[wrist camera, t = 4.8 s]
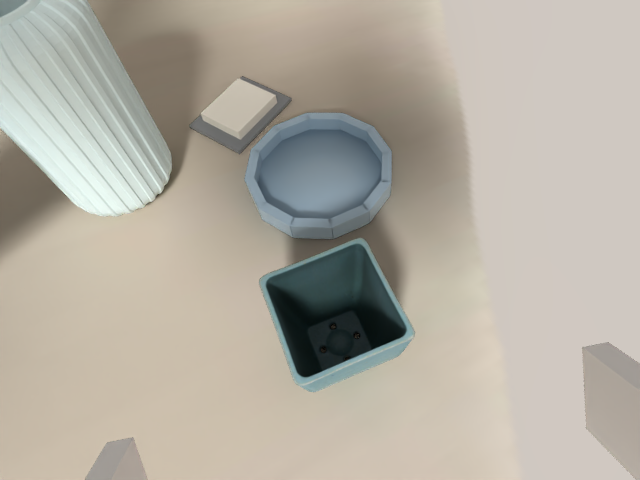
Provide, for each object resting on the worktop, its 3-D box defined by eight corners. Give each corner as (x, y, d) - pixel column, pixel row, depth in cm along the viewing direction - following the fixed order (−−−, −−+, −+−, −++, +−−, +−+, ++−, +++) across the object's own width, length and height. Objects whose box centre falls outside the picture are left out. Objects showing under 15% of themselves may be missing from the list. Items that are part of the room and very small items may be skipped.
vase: (198, 158, 52) (101, -42, 33) (144, 240, 47) (-8, 59, 28) (117, 136, 55) (-15, -59, 36) (58, 211, 50) (-132, 30, 31)
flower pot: (276, 318, 41) (255, 276, 34) (364, 283, 42) (363, 234, 35) (310, 412, 37) (296, 388, 29) (407, 369, 38) (418, 336, 30)
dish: (338, 264, 44) (337, 253, 42) (223, 196, 49) (217, 184, 47) (416, 160, 49) (418, 146, 47) (305, 109, 54) (303, 95, 53)
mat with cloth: (239, 154, 52) (236, 144, 50) (190, 127, 55) (185, 118, 53) (291, 100, 55) (289, 90, 54) (242, 78, 58) (239, 68, 57)
